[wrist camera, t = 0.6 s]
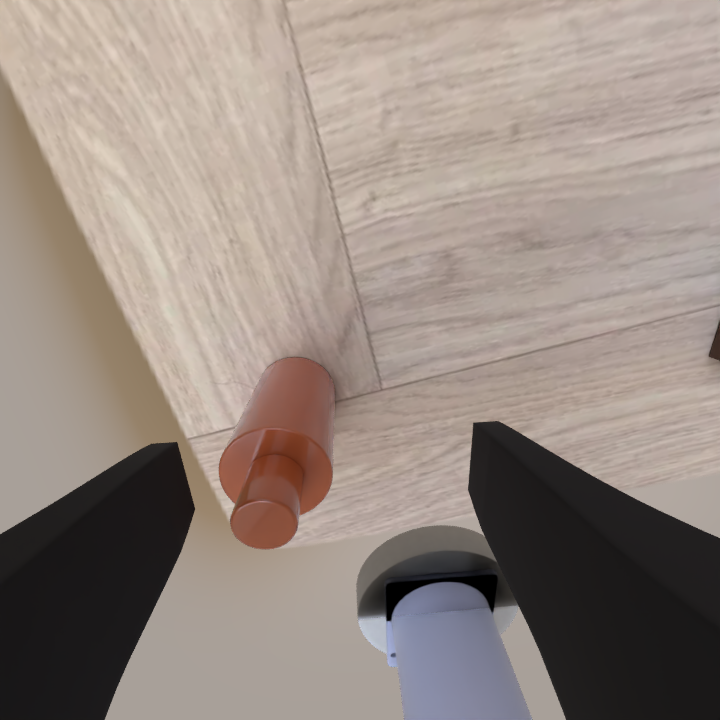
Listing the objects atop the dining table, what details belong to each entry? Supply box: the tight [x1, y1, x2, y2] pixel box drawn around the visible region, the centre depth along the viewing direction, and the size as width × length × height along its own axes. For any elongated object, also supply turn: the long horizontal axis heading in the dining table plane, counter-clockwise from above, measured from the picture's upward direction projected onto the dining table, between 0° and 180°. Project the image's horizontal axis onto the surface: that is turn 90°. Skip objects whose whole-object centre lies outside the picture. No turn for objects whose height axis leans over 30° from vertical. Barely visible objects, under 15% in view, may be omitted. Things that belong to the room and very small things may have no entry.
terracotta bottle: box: [219, 357, 335, 549], centre depth 13 cm, size 4×4×8 cm
